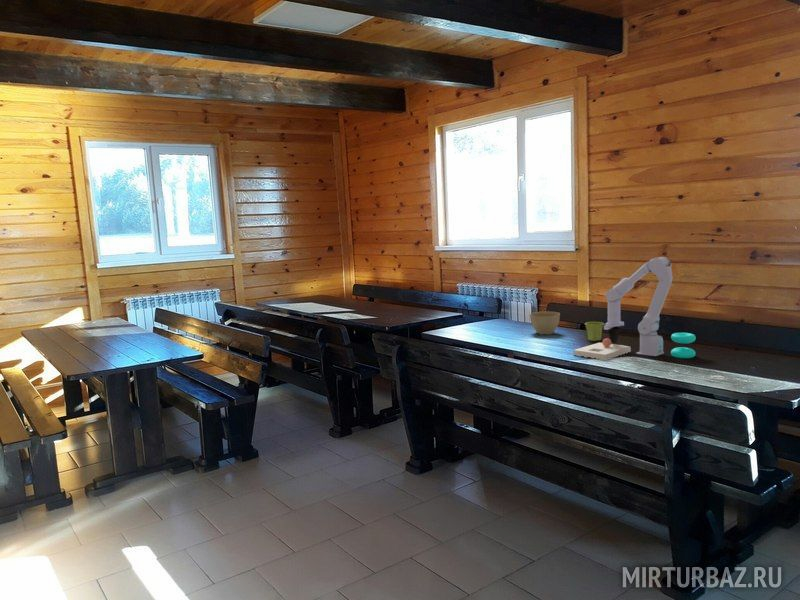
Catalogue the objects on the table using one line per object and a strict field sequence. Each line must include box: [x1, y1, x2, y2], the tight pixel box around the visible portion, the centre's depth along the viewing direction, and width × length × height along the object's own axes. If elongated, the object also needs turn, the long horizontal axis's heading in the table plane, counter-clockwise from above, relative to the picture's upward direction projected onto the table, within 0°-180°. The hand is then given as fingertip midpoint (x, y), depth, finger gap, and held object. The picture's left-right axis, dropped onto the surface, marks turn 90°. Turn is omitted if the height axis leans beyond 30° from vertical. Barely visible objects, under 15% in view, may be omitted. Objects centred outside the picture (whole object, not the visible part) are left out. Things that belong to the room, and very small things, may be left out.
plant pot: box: [584, 321, 605, 342], centre depth 322 cm, size 9×9×9 cm
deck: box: [573, 342, 632, 361], centre depth 290 cm, size 16×22×2 cm
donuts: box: [670, 332, 697, 359], centre depth 278 cm, size 10×10×10 cm
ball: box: [601, 337, 612, 347], centre depth 292 cm, size 4×4×4 cm
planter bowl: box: [529, 311, 561, 335], centre depth 345 cm, size 16×16×11 cm
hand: (614, 342), depth 296 cm, fingers closed
